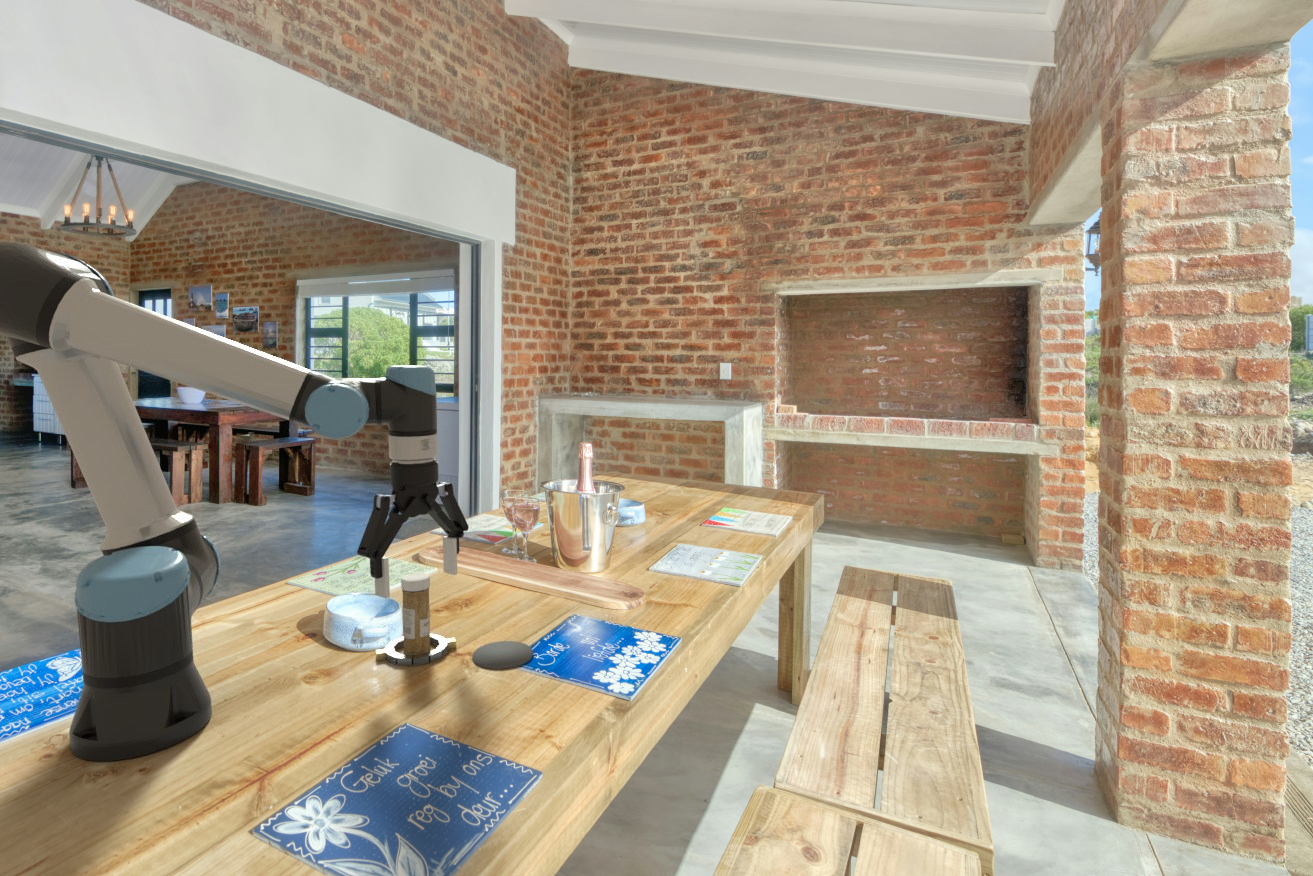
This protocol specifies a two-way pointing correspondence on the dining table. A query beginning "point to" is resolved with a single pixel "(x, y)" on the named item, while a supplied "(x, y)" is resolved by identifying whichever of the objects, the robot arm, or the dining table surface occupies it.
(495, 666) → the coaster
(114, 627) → the robot arm
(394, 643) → the collar
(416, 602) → the sprinkles bottle
